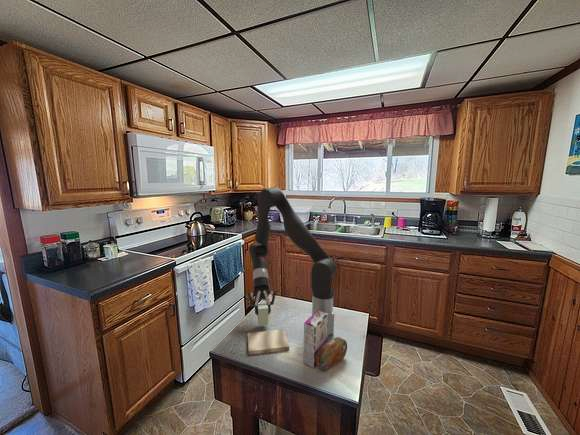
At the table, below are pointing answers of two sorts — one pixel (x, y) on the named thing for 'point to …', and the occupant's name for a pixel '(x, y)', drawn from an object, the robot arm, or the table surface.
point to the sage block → (262, 314)
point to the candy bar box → (315, 336)
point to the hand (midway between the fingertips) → (263, 314)
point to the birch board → (267, 342)
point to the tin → (331, 353)
